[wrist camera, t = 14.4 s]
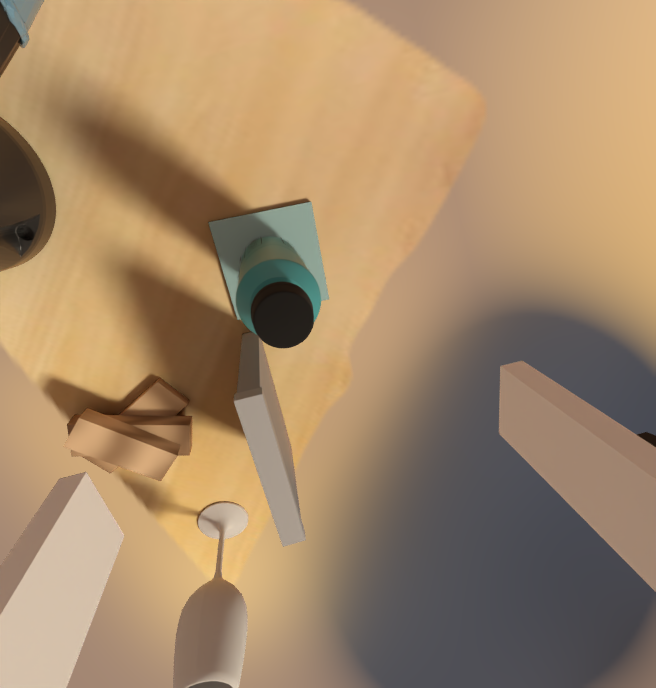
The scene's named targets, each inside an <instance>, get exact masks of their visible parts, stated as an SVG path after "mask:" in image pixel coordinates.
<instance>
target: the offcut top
mask: <svg viewBox="0 0 656 688" xmlns="http://www.w3.org/2000/svg"><path fill="white" fill-rule="evenodd" d="M180 446H181V445H179V444H177V443H174V442H172V441H169V440H167V439H164V438H162V437H159V436H157V435H154V434H152V433H149V432H147V431H144V430H142V429H139V428H137V427H134V426H132V425H129V424H127V423H124V422H121V421H119V420H116V419H114V418H111V417H109V416H106V415H104V414H101V413H99V412H96V411H94V410H91V409H89V408H86V410H85V411H84V412H83V413H82V415H81V416H80V417H79V419H78V421H77V422H76V424H75V426H74V428H73V430H72V431H71V433H70V435H69V437H68V439H67V440H66V442H65V444H64V446H63V447H65V448H68V449H70V450H73V451H76V452H79V453H82V454H85V455H87V456H90V457H93V458H96V459H99V460H102V461H104V462H107V463H110V464H113V465H116V466H119V467H122V468H124V469H127V470H130V471H133V472H136V473H139V474H141V475H144V476H147V477H150V478H153V479H156V480H158V481H161V480H162V479H163V477H164V476H165V474H166V473H167V471H168V469H169V468H170V466H171V465H172V463H173V462H174V460H175V459H176V457H177V456H178V452H179V449H180Z"/></svg>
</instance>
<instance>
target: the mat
mask: <svg viewBox="0 0 656 688" xmlns="http://www.w3.org/2000/svg"><path fill="white" fill-rule="evenodd" d="M208 223H209V227H210V230H211V233H212V237H213V240H214V243H215V247H216V250H217V253H218V257H219V260H220V263H221V267H222V270H223V273H224V277H225V280H226V283H227V287H228V290H229V293H230V296H231V300H232V303H233V306H234V310H235V313H236V316H237V320H240V319H241V318H240V316H239V314H238V311H237V308H236V291H237V287H238V282H237V281H238V280H237V279H239V277H237V276H238V275H239V271H240V266H241V261H240V258H241V260H242V256H243V254H244V252H245V247H246V248H247V247H248V245H250V244H251V242H253V240H257V239H259V238H262V237H269V236H270V237H278V238H282V239H283V240H285V239H286V240H285V241H287V240H288V241H289V244H290V245H291V244H292V245H293V246H292V245H291V246H292V247H293V248H295V250H296V252H297V253H298V255H299V254H300V255H301V256H300V255H299V256H300V257H301V259H303V262H304V263H305V265H306V267H307V269H310V270H309V271H310V272H311V274H312V275H313V276H314V278H315V279H316V281H317V283H318V286H319V289H320V293H321V301H323V300H328V299H329V296H328V290H327V285H326V279H325V274H324V268H323V263H322V258H321V252H320V247H319V241H318V236H317V230H316V225H315V219H314V214H313V209H312V203H311V202H306V203H301V204H296V205H291V206H286V207H281V208H276V209H272V210H267V211H262V212H257V213H252V214H247V215H242V216H237V217H232V218H227V219H222V220H217V221H212V222H208ZM288 241H287V242H288ZM249 243H250V244H249ZM239 262H240V263H239ZM236 282H237V283H236Z"/></svg>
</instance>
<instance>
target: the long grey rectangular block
mask: <svg viewBox="0 0 656 688" xmlns="http://www.w3.org/2000/svg"><path fill="white" fill-rule="evenodd" d="M234 404H235V407H236V410H237V413H238V416H239V419H240V422H241V425H242V428H243V431H244V433H245V436H246V439H247V442H248V445H249V448H250V451H251V454H252V457H253V460H254V463H255V466H256V469H257V472H258V475H259V478H260V481H261V484H262V487H263V489H264V492H265V495H266V498H267V501H268V504H269V507H270V510H271V513H272V516H273V519H274V522H275V525H276V528H277V531H278V533H279V537H280V540H281V542H282V545H283V546H287V545H290V544H294V543H297V542H301V541H304V540H306V539H305V531H304V527H303V524H302V521H301V516H300V508H299V501H298V494H297V486H296V479H295V471H294V464H293V456H292V449H291V444H290V441H289V437H288V433H287V430H286V426H285V423H284V419H283V415H282V412H281V408H280V405H279V401H278V397H277V394H276V390H275V387H274V383H273V379H272V376H271V372H270V369H269V365H268V361H267V358H266V354H265V351H264V347H263V343H262V340H261V339H260V338H259V336H258V335H256V334H255V333H253V332H249V333H244V334H242V343H241V353H240V364H239V374H238V385H237V393H236V394H234Z"/></svg>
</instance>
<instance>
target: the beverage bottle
mask: <svg viewBox="0 0 656 688" xmlns="http://www.w3.org/2000/svg"><path fill="white" fill-rule="evenodd" d="M285 240H286V239H285ZM285 240H283V239H282V238H278V237H270V236H269V237H262V238H259V239H257V240H253V242H251V244H250V243H249V244H250V245H248V247H247V248H246V247H245V252H244V254H243V256H242V260H241V258H240V261H241V266H240V271H239V275H238V276H237V277H239V279H237V280H238V281H237V282H238V287H237V291H236V308H237V311H238V314H239V316H240V318H241V320H242V322H243V323H244V324H245V326H246V327H247V328H248V329H249V330H250V331H252V332H253V333H255V334H256V335H258V336H259V338H260V339H261V340H262V341H264V342H265V343H266V344H268V345H270V346H273V347H276V348H290V347H293V346H296V345H298V344H300V343H301V342H303V341H304V340H305V339H306V338H307V337H308V335H309V334H310V332H311V330H312V328H313V324H314V321H315V320H316V318H317V316H318V313H319V310H320V306H321V293H320V289H319V286H318V283H317V281H316V279H315V278H314V276H313V275H312V274H311V272H310V271H309V270H310V269H307V267H306V265H305V263H304V262H303V259H301V257H300V256H301V255H300V254H299V255H300V256H299V255H298V253H297V252H296V250H295V248H293V247H292V246H293V245H292V244H291V245H292V246H291V245H290V244H289V241H288V240H287V241H288V242H287V241H285ZM239 263H240V262H239ZM237 282H236V283H237Z"/></svg>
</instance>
